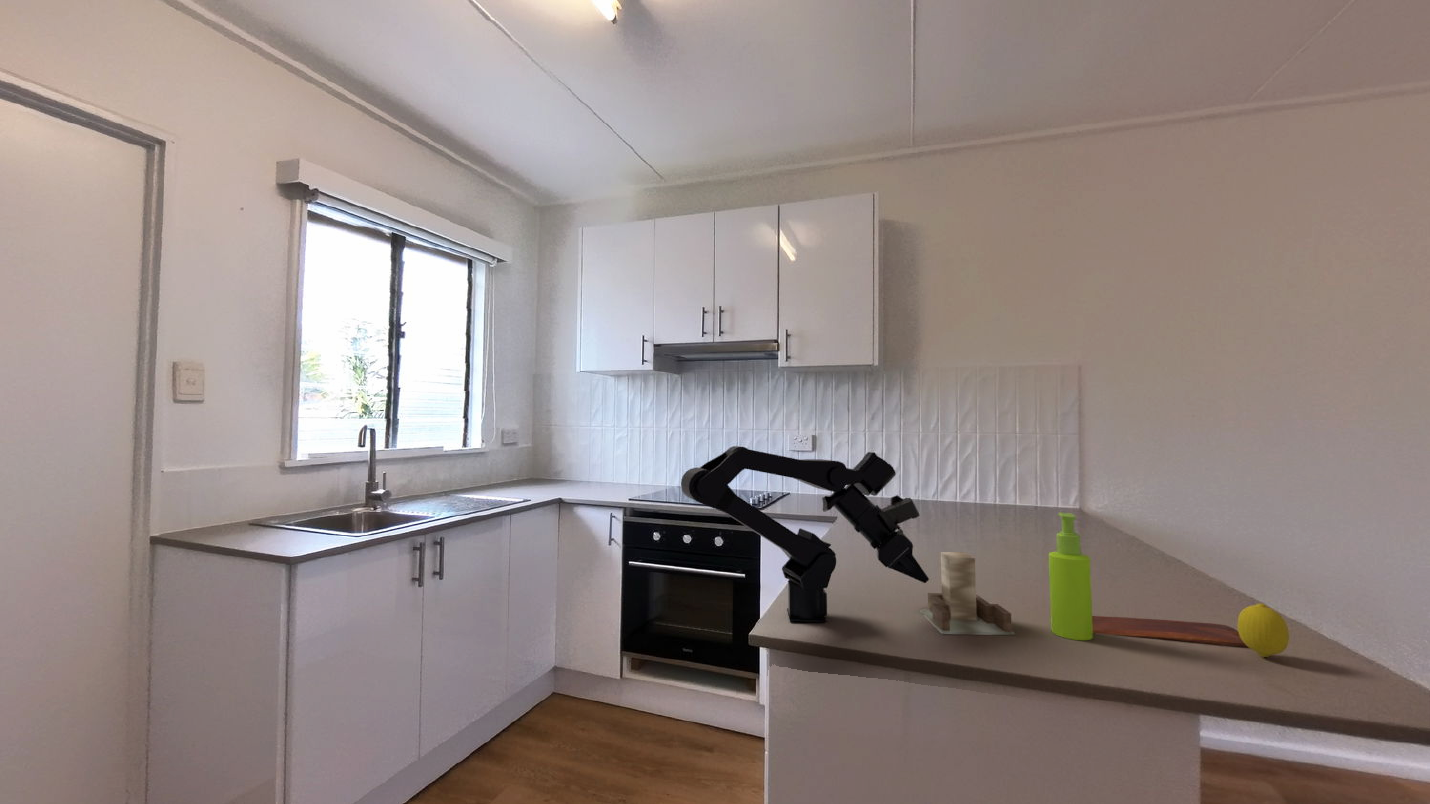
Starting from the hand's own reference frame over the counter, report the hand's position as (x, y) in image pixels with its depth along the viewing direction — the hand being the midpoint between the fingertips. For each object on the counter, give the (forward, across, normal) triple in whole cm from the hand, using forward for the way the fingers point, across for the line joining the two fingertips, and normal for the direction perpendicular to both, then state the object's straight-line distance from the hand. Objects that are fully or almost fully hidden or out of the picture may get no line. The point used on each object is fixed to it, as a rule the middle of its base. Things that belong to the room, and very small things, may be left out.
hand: (922, 574), depth 102 cm
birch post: (+10, 0, +1) cm, 10 cm away
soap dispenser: (+22, -4, -11) cm, 25 cm away
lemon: (+39, -9, -28) cm, 49 cm away
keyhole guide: (+10, -2, +1) cm, 10 cm away
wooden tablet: (+32, 0, -20) cm, 38 cm away
